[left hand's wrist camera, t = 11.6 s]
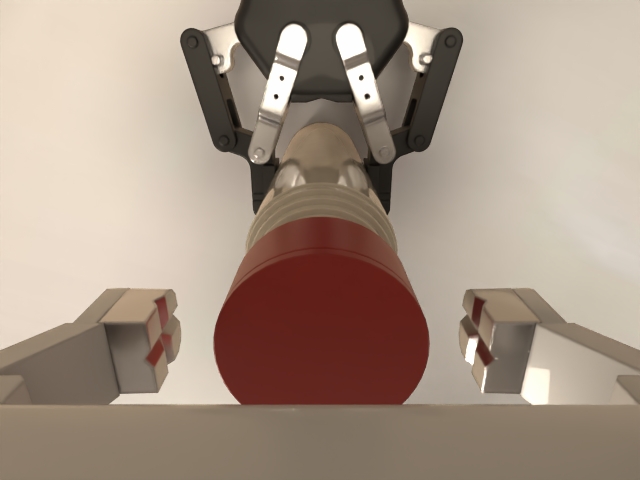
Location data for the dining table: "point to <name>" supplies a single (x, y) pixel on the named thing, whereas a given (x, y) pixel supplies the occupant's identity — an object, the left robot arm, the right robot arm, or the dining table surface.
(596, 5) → the dining table surface
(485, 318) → the left robot arm
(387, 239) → the bottle
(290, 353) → the cap
